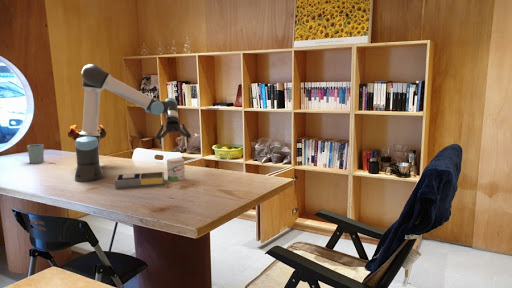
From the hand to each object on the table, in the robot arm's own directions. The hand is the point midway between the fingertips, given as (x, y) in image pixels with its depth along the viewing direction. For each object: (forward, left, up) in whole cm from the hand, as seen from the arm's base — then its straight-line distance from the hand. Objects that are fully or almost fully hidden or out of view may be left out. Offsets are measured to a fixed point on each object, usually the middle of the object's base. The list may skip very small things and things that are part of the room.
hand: (174, 147), depth 229 cm
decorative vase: (-53, +38, -17) cm, 67 cm away
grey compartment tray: (-19, -17, -16) cm, 30 cm away
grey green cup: (-91, +64, -17) cm, 113 cm away
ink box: (0, -12, -17) cm, 20 cm away
